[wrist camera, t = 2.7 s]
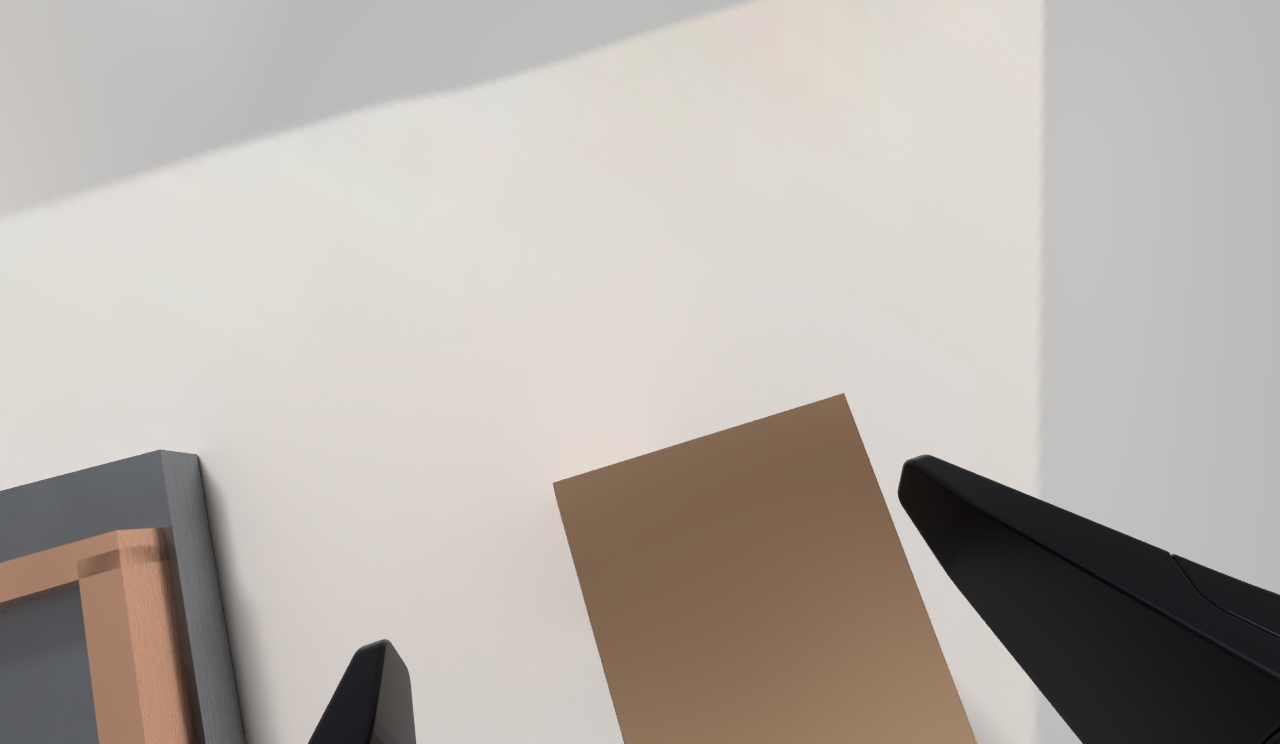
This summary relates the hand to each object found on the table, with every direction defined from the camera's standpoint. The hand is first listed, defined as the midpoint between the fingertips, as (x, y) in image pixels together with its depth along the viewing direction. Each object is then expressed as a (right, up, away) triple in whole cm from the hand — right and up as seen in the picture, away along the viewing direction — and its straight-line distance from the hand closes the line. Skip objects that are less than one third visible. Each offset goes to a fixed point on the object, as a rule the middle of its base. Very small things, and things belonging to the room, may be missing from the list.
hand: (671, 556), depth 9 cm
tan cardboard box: (-1, -2, +7) cm, 8 cm away
